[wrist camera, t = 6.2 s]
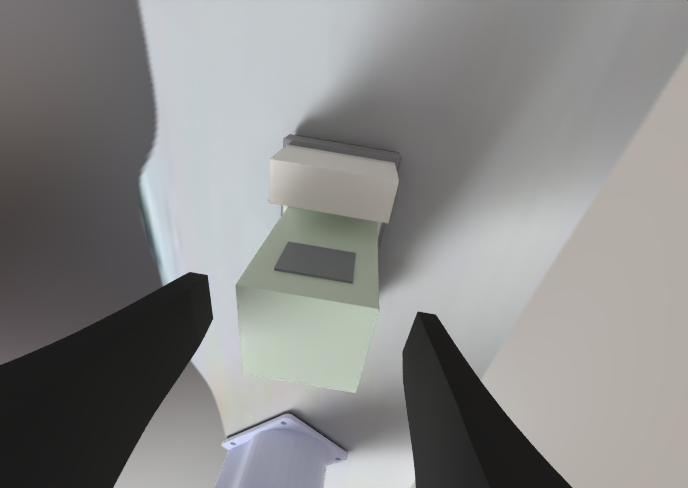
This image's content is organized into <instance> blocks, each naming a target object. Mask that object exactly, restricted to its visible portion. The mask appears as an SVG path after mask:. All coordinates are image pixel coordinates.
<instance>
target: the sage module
mask: <svg viewBox="0 0 688 488" xmlns="http://www.w3.org/2000/svg"><path fill="white" fill-rule="evenodd" d="M236 296H237V309H238V323H239V336H240V350H241V363H242V374H247V375H252V376H258V377H264V378H270V379H276V380H281V381H287V382H293V383H299V384H305V385H310V386H316V387H322V388H328V389H334V390H339V391H345V392H351V393H356V391H357V387H358V384H359V380H360V376H361V373H362V369H363V366H364V362H365V358H366V355H367V351H368V348H369V344H370V340H371V337H372V333H373V330H374V326H375V323H376V319H377V315H378V312H379V277H378V232H377V221H371V220H365V219H359V218H353V217H347V216H341V215H335V214H329V213H323V212H317V211H311V210H305V209H299V208H294V207H287V209H286V210H285V212H284V213H283V215H282V216H281V218H280V219H279V221H278V222H277V224H276V225H275V227H274V228H273V230H272V231H271V233H270V234H269V236H268V237H267V239H266V240H265V242H264V243H263V245H262V246H261V248H260V249H259V251H258V252H257V254H256V255H255V257H254V258H253V260H252V261H251V263H250V264H249V266H248V267H247V269H246V270H245V272H244V273H243V275H242V276H241V278H240V279H239V281H238V282H237V284H236Z"/></svg>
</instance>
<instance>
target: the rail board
mask: <svg viewBox="0 0 688 488" xmlns="http://www.w3.org/2000/svg"><path fill="white" fill-rule="evenodd" d="M400 159H401V158H400V155H399V153H397V152H391V151H385V150H379V149H373V148H367V147H362V146H356V145H350V144H344V143H338V142H332V141H326V140H320V139H315V138H309V137H303V136H297V135H291V134H290V135H288V136H287V137H285V138H284V140H283V149H282V150H280V151H279V152H278V153H277V154H275V155H274V156H273V157H271V158H270V165H269V203H272V204H278V205H281V216H282V215H283V213H284V212H285V210H286V209H287V207H294V208H299V209H305V210H311V211H317V212H323V213H329V214H335V215H341V216H347V217H353V218H359V219H365V220H371V221H377V232H378V249H379V245H380V241H381V237H382V233H383V229H384V225H385V223H389V219H390V215H391V211H392V207H393V204H394V200H395V196H396V192H397V188H398V184H399V178H398V174H397V172H398V168H399V164H400Z"/></svg>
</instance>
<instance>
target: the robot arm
mask: <svg viewBox="0 0 688 488" xmlns="http://www.w3.org/2000/svg"><path fill="white" fill-rule="evenodd" d="M212 320H213V314H212V306H211V298H210V290H209V283H208V275H204V274H198V273H192V272H189V273H187V274H185V275H183V276H181V277H180V278H178V279H176V280H174V281H172V282H170V283H169V284H167V285H165V286H163V287H161V288H160V289H158V290H156V291H155V292H153V293H151V294H149V295H147V296H145V297H143V298H142V299H140V300H138V301H136V302H134V303H133V304H131V305H129V306H127V307H125V308H123V309H121V310H120V311H118V312H116V313H114V314H112V315H110V316H108V317H106V318H104V319H102V320H100V321H98V322H96V323H94V324H92V325H90V326H88V327H86V328H84V329H82V330H80V331H78V332H76V333H74V334H72V335H70V336H67V337H65V338H63V339H61V340H59V341H56V342H54V343H52V344H50V345H48V346H45V347H43V348H40V349H38V350H36V351H34V352H32V353H29V354H27V355H24V356H22V357H20V358H17V359H15V360H12V361H10V362H7V363H5V364H2V365H0V488H113V487H114V485H115V483H116V481H117V479H118V477H119V475H120V474H121V472H122V470H123V468H124V466H125V464H126V462H127V460H128V458H129V457H130V455H131V453H132V451H133V449H134V448H135V446H136V444H137V442H138V441H139V439H140V437H141V435H142V433H143V432H144V430H145V428H146V426H147V425H148V423H149V421H150V420H151V418H152V417H153V415H154V413H155V412H156V410H157V409H158V407H159V405H160V404H161V403H162V401H163V400H164V398H165V397H166V395H167V394H168V392H169V391H170V389H171V388H172V386H173V385H174V383H175V382H176V381H177V379H178V378H179V376H180V375H181V373H182V371H183V370H184V369H185V367H186V365H187V364H188V362H189V361H190V360H191V358H192V357H193V355H194V354H195V352H196V350H197V349H198V347H199V346H200V344H201V342H202V340H203V338H204V336H205V334H206V332H207V330H208V328H209V326H210V324H211V322H212ZM403 384H404V392H405V399H406V407H407V414H408V421H409V428H410V436H411V443H412V450H413V458H414V468H415V481H416V488H572V487H571V486H570V485H569V484H568V483H567V482H566V481H565V479H563V477H562V476H561V475H560V474H559V473H558V472H557V471H556V470H555V469H554V468H553V467H552V466H551V465H550V464H549V463H548V462H547V461H546V459H545V458H544V457H543V456H542V455H541V454H540V453H539V452H538V451H537V450H536V448H535V447H534V446H533V445H532V444H531V443H530V442H529V440H528V439H527V438H526V437H525V436H524V435H523V433H522V432H521V431H520V430H519V429H518V428H517V427H516V425H515V424H514V423H513V422H512V421H511V419H510V418H509V417H508V416H507V415H506V413H505V412H504V411H503V410H502V408H501V407H500V406H499V404H498V403H497V402H496V401H495V399H494V398H493V397H492V395H491V394H490V393H489V391H488V390H487V389H486V388H485V386H484V385H483V384H482V382H481V381H480V379H479V378H478V377H477V375H476V374H475V372H474V371H473V370H472V368H471V367H470V365H469V364H468V362H467V361H466V360H465V358H464V357H463V355H462V354H461V352H460V351H459V349H458V348H457V346H456V345H455V343H454V342H453V340H452V339H451V337H450V336H449V334H448V333H447V331H446V329H445V328H444V326H443V325H442V323H441V322H440V320H439V319H438V317H437V316H436V315H435V314H429V313H423V312H417V315H416V318H415V320H414V323H413V326H412V328H411V331H410V333H409V336H408V339H407V341H406V344H405V347H404V349H403ZM222 446H223V447H224V448H226V449H227V450H228V453H227V456H226V458H225V461H224V463H223V466H222V468H221V471H220V474H219V476H218V479H217V481H216V484H215V486H214V488H323V487H324V479H325V471H326V466H327V465H330V464H333V463H337V462H340V461H344V460H346V459H347V457H348V453H347V452H346V451H344V450H343V449H341V448H340V447H338V446H337V445H335V444H334V443H333V442H331V441H330V440H328V439H327V438H325V437H324V436H322V435H321V434H320V433H318V432H317V431H315V430H314V429H312V428H311V427H309V426H308V425H306V424H305V423H304V422H302V421H301V420H299V419H298V418H296V417H295V416H293V415H292V414H284V415H282V416H279V417H277V418H275V419H272V420H270V421H267V422H265V423H263V424H260V425H258V426H256V427H253V428H251V429H249V430H246V431H244V432H242V433H239V434H237V435H235V436H232V437H230V438H227V439H225V440H224V441H223V443H222Z"/></svg>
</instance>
